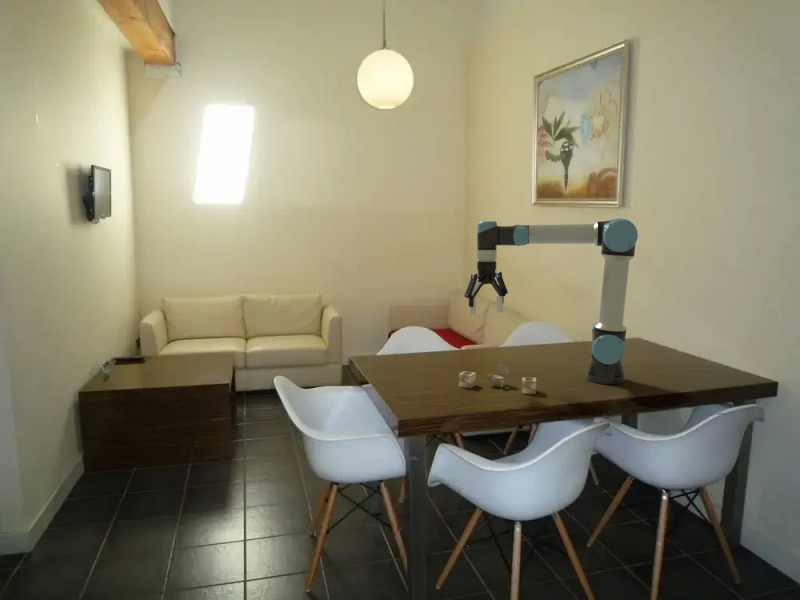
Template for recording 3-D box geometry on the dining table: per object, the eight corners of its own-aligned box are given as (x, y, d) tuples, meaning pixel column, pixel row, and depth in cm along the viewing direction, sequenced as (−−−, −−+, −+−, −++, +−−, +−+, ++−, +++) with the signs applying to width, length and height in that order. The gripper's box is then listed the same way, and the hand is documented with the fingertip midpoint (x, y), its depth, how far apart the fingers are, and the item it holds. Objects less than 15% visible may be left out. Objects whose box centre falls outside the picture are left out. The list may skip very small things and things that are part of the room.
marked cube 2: (535, 390, 237) (535, 377, 236) (535, 394, 232) (536, 380, 232) (522, 389, 238) (522, 376, 237) (522, 393, 233) (522, 380, 232)
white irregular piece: (491, 386, 237) (489, 361, 241) (486, 390, 243) (484, 366, 247) (512, 386, 238) (510, 362, 242) (507, 391, 244) (505, 366, 248)
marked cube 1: (475, 385, 245) (475, 372, 244) (470, 388, 240) (470, 375, 240) (463, 383, 247) (464, 370, 246) (458, 386, 243) (458, 373, 242)
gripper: (504, 258, 255) (504, 309, 258) (455, 261, 242) (455, 315, 245) (517, 259, 249) (516, 311, 252) (467, 262, 236) (467, 317, 239)
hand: (486, 313), depth 248 cm, fingers open, 13 cm apart
